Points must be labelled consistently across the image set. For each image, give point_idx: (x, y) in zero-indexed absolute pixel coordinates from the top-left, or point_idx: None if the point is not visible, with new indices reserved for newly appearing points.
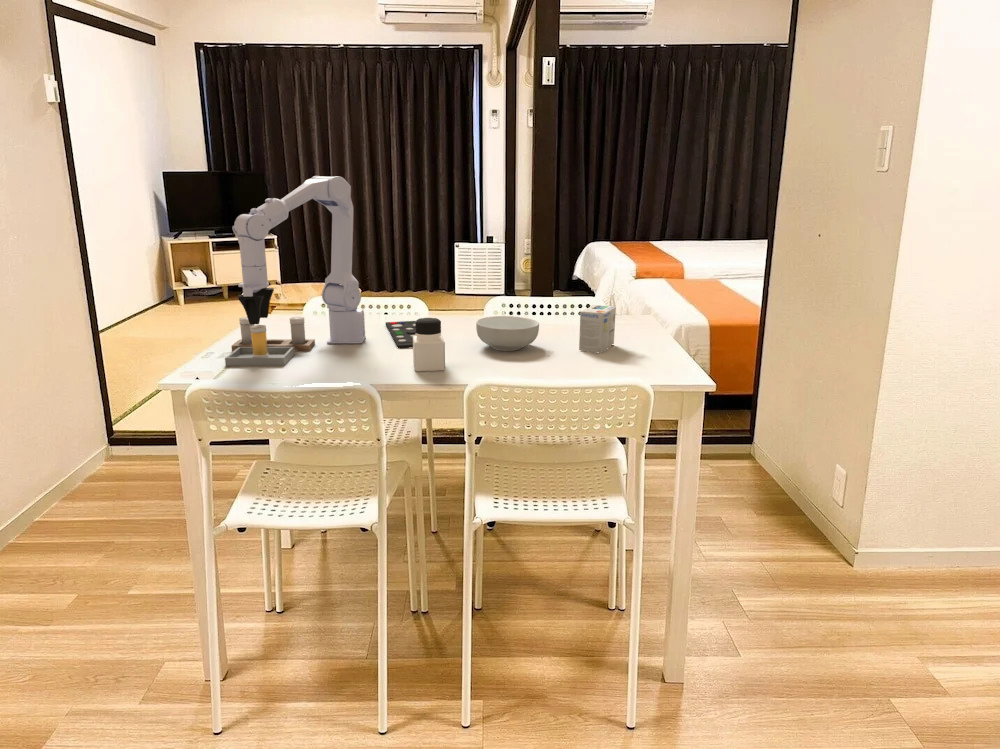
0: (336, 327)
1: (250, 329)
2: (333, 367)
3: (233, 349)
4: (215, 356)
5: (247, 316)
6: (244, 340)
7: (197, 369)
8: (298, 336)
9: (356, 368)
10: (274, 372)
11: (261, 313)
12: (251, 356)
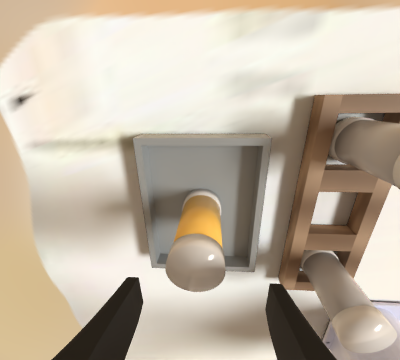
0: (361, 356)
1: (181, 243)
2: (154, 318)
3: (316, 101)
4: (251, 60)
5: (100, 309)
6: (348, 137)
7: (97, 62)
8: (314, 286)
9: (151, 341)
10: (108, 246)
11: (275, 315)
12: (219, 179)
